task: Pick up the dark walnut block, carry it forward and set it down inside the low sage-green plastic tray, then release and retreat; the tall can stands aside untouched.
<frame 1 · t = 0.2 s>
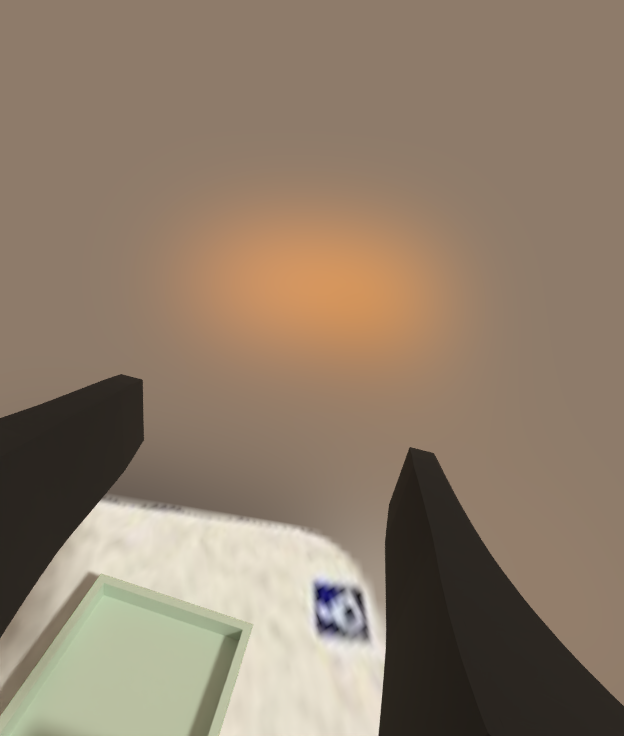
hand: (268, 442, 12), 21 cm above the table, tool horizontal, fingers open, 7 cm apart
tray: (131, 700, 24), on the table
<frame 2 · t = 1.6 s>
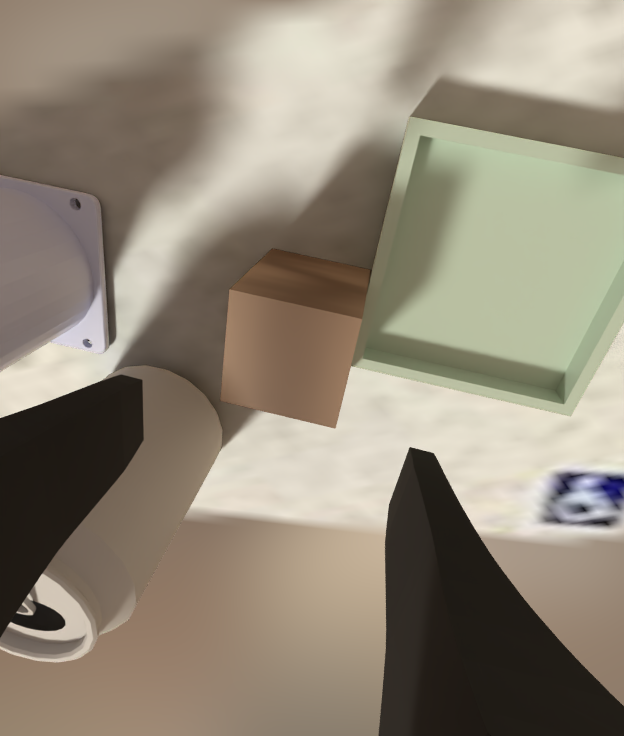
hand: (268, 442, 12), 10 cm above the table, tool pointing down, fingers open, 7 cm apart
can: (166, 414, 26), on the table
tray: (492, 273, 19), on the table
block: (312, 305, 21), on the table
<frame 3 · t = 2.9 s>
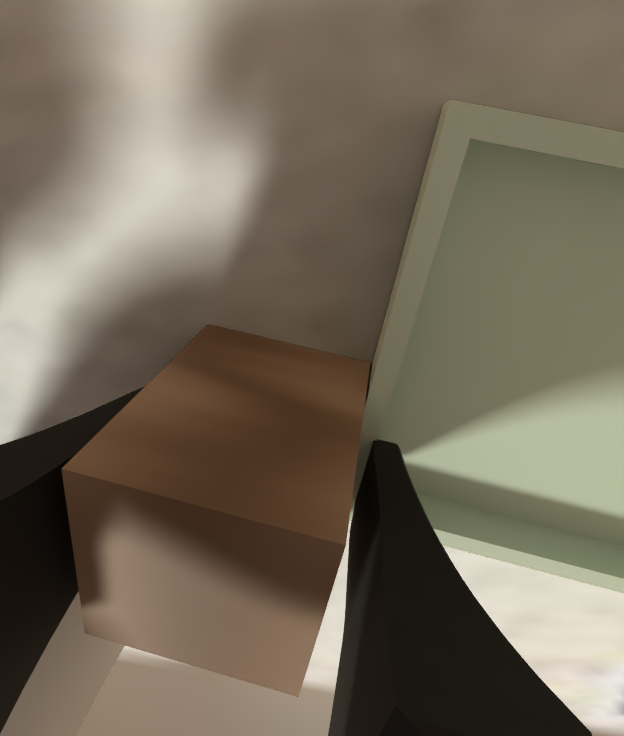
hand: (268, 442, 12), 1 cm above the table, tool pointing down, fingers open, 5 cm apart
can: (78, 536, 18), on the table
tray: (581, 378, 11), on the table
block: (277, 410, 13), on the table
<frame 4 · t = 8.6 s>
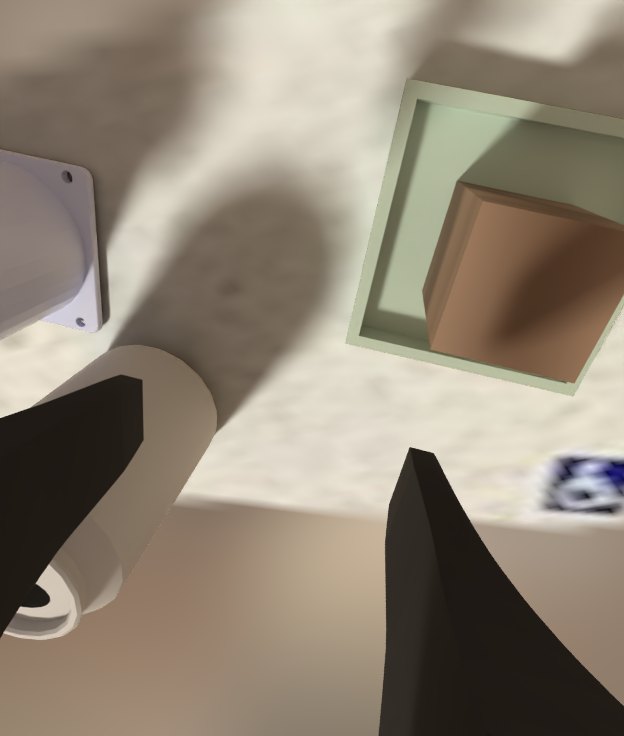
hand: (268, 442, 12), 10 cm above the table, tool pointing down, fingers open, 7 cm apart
can: (161, 396, 25), on the table
tray: (492, 247, 18), on the table
block: (493, 251, 18), resting on tray
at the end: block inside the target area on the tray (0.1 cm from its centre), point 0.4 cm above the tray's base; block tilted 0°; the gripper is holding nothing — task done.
